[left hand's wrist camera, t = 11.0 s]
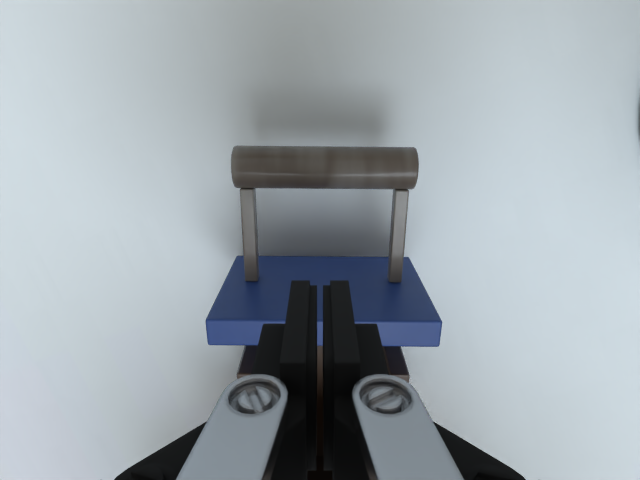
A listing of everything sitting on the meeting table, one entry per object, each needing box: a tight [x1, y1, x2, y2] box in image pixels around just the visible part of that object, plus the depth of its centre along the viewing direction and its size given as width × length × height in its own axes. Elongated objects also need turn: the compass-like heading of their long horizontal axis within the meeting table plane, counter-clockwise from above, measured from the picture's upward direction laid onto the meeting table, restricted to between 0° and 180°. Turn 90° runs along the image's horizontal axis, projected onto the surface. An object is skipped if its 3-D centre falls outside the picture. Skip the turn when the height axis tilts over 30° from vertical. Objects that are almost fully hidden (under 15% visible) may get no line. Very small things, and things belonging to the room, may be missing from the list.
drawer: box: [206, 146, 442, 480], centre depth 21 cm, size 20×9×7 cm, turn 0°
